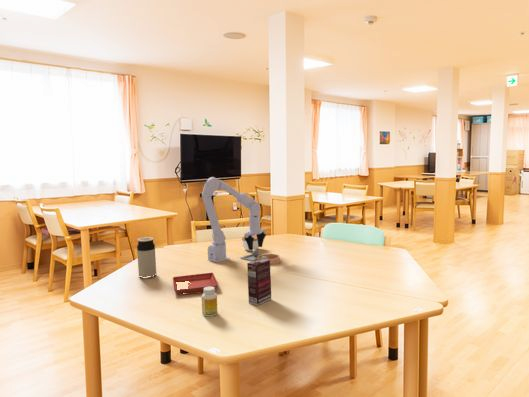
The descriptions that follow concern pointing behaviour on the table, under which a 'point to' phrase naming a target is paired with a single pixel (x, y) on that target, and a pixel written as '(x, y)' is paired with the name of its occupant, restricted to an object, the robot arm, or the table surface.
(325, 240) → the table surface
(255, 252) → the pebble dark
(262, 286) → the supplement box
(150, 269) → the travel mug
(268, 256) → the bowl
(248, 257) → the tray
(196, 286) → the plant saucer
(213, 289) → the supplement bottle
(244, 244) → the lidded jar
